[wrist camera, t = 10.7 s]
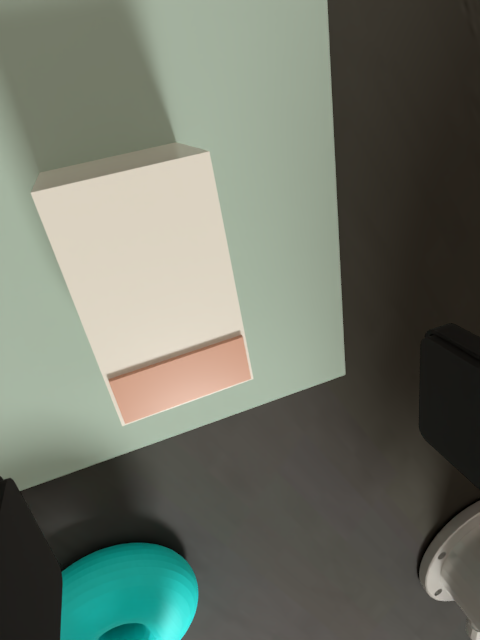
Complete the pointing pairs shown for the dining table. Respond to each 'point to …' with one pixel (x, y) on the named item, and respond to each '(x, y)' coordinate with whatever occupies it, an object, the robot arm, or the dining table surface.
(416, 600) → the dining table surface
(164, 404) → the card deck
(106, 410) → the mat
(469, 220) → the dining table surface
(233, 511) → the dining table surface
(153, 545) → the donuts
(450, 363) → the robot arm
